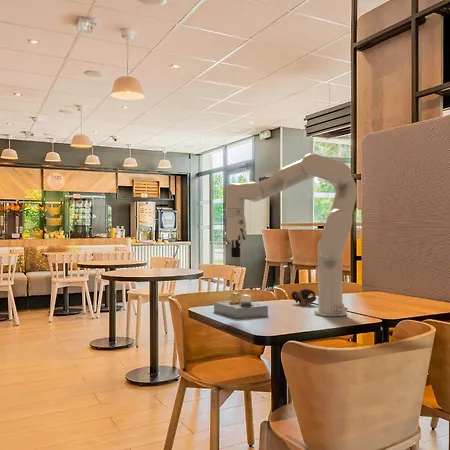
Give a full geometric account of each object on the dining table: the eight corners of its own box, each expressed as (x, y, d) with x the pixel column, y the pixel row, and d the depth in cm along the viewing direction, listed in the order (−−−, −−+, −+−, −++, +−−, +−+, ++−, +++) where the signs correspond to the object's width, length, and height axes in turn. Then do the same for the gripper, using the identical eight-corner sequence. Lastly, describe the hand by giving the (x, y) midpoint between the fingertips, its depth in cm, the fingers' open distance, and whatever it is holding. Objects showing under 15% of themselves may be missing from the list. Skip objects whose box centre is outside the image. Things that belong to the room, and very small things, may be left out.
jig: (267, 315, 187) (267, 295, 187) (236, 318, 180) (236, 297, 180) (243, 309, 204) (242, 290, 205) (214, 311, 198) (213, 292, 198)
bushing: (242, 312, 195) (242, 293, 195) (233, 313, 193) (233, 293, 193) (237, 311, 198) (237, 292, 199) (229, 312, 197) (229, 292, 197)
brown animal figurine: (317, 304, 220) (319, 290, 216) (311, 316, 213) (313, 301, 209) (293, 297, 225) (294, 283, 221) (286, 308, 217) (287, 293, 213)
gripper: (252, 212, 192) (252, 257, 192) (234, 214, 205) (235, 256, 205) (236, 212, 189) (236, 258, 188) (219, 214, 202) (219, 256, 202)
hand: (235, 257), depth 197 cm, fingers closed
